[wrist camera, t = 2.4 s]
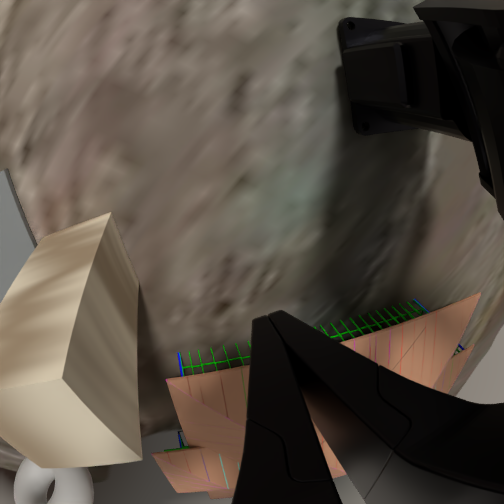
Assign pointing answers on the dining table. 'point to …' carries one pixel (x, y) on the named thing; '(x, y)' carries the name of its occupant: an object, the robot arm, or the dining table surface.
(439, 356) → the house
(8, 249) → the slate mat
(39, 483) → the donut
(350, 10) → the dining table surface
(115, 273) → the birch block
